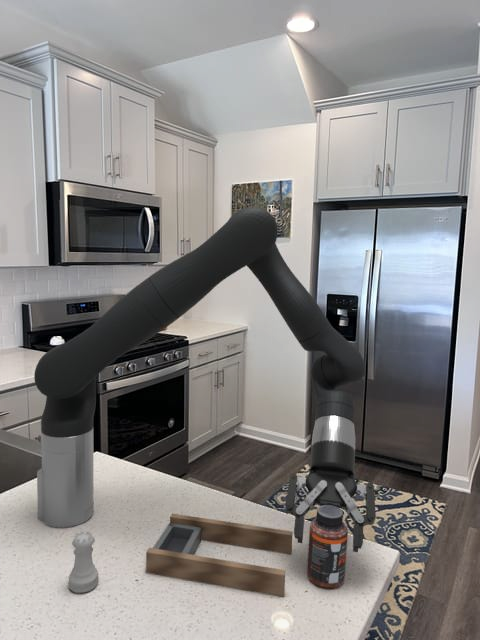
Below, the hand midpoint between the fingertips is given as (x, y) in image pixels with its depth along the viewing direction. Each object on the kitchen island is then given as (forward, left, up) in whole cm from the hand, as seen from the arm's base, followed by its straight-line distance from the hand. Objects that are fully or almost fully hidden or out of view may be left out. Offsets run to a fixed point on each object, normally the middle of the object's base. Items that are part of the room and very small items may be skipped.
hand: (327, 546), depth 74 cm
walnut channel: (-17, +1, -6) cm, 18 cm away
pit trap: (-25, +1, -6) cm, 26 cm away
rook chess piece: (-36, -10, -6) cm, 38 cm away
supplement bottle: (0, +2, -6) cm, 7 cm away
